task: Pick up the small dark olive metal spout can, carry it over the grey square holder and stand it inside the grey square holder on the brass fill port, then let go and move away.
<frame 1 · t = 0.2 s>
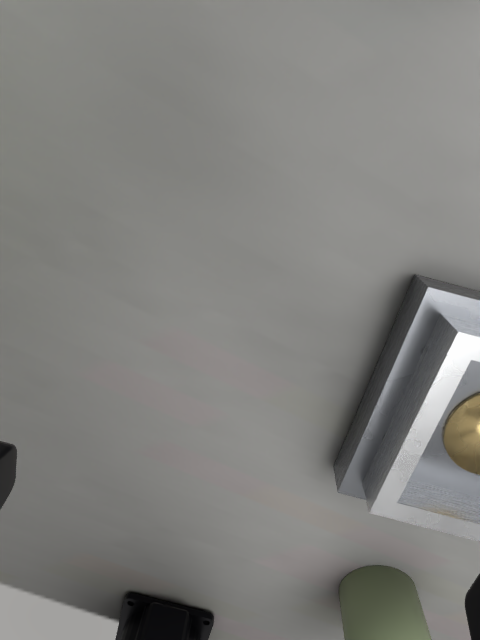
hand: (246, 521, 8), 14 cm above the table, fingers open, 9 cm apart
grey square holder: (479, 409, 23), on the table
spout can: (377, 592, 29), on the table
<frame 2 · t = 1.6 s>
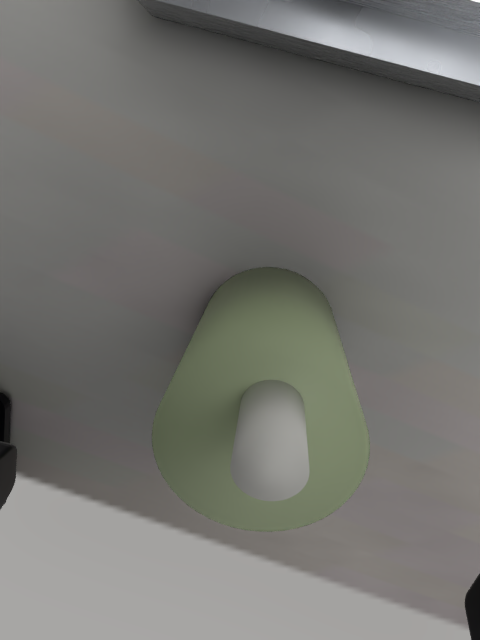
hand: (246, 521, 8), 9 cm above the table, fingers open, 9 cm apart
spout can: (268, 331, 16), on the table
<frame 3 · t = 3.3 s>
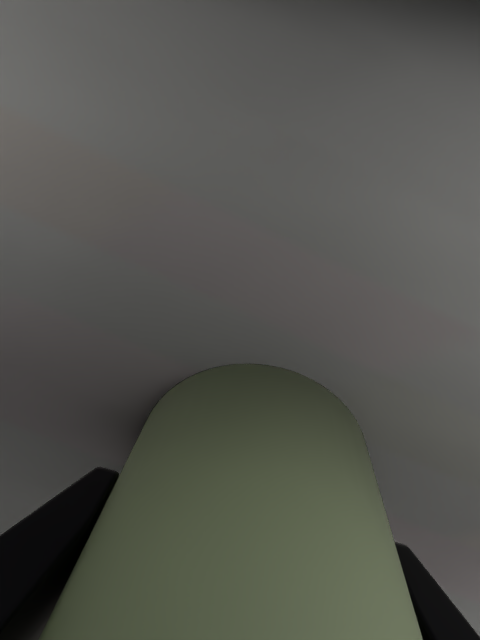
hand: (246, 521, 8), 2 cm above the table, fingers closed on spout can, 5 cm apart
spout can: (251, 465, 9), on the table, touching gripper
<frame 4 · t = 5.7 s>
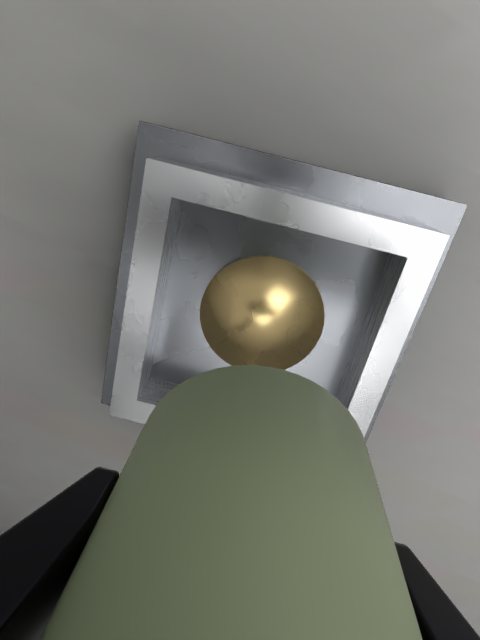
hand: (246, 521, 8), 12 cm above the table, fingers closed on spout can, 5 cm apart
grey square holder: (263, 300, 19), on the table
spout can: (251, 466, 9), point 11 cm above the table, touching gripper
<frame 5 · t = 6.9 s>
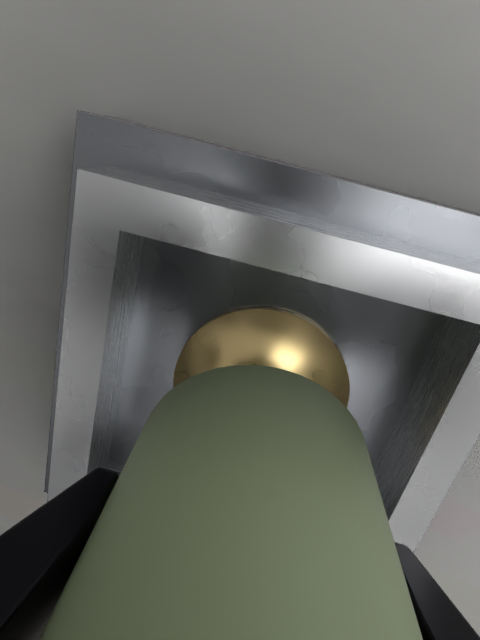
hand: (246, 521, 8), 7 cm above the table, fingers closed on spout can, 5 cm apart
grey square holder: (262, 357, 14), on the table
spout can: (251, 466, 9), point 5 cm above the table, touching gripper
when the fingers open (5 cm above the table, at t = 8.1 s): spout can drops 1 cm, resting on grey square holder.
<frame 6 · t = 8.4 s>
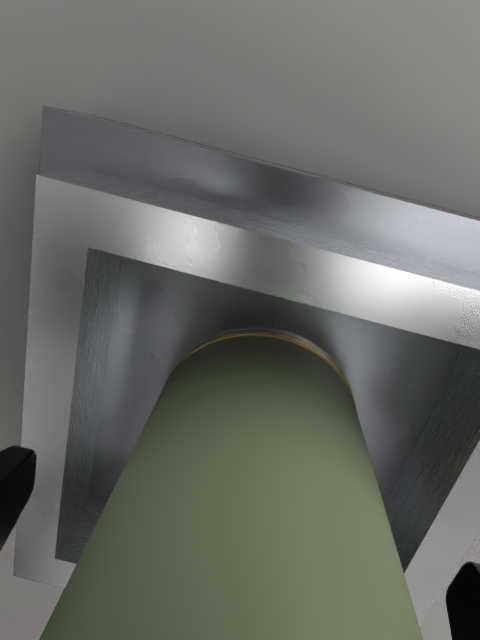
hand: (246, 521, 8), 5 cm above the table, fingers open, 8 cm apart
grey square holder: (259, 381, 13), on the table
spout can: (255, 426, 11), point 2 cm above the table, touching grey square holder
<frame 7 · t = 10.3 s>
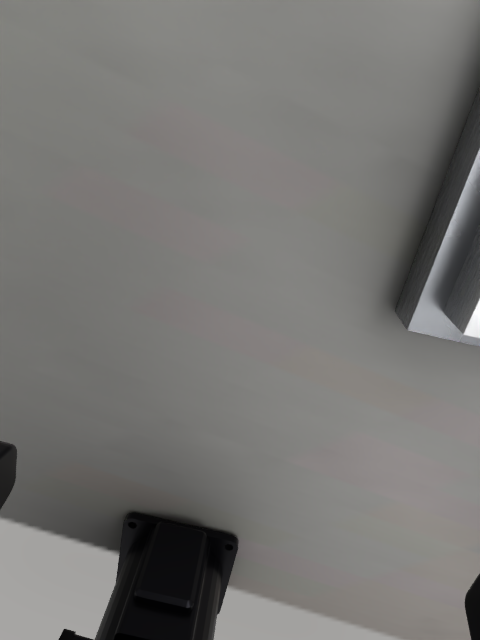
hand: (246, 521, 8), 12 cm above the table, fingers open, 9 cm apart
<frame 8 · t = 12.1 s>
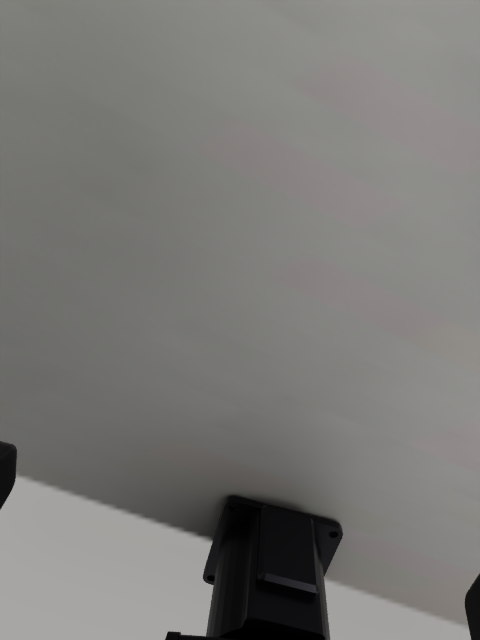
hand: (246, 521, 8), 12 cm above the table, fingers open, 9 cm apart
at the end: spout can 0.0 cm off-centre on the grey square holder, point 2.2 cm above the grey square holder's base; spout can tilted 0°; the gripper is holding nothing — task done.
